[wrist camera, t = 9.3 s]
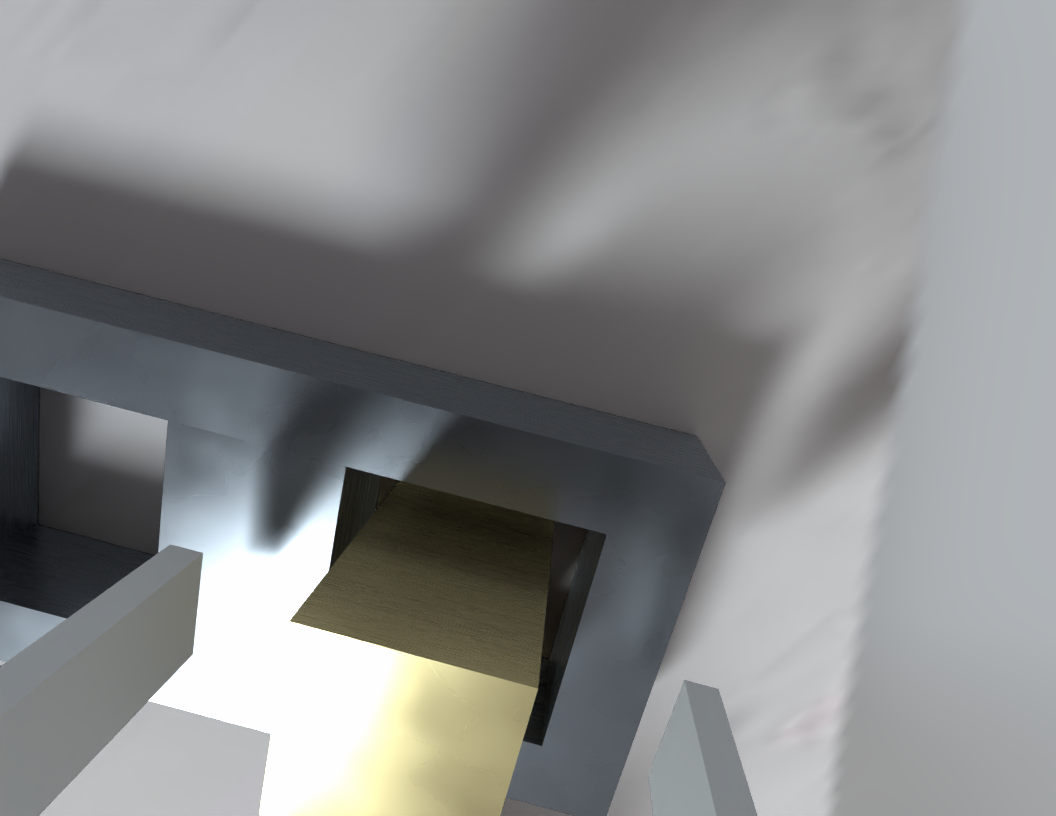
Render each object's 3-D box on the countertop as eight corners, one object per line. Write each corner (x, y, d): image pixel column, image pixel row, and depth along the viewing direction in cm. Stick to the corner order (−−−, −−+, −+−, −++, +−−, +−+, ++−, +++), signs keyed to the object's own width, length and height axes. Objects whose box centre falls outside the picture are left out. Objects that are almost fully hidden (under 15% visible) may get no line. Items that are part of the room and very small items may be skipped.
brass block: (387, 589, 19) (259, 814, 12) (412, 463, 18) (289, 621, 10) (522, 625, 19) (481, 876, 12) (556, 501, 18) (537, 688, 10)
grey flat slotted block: (-26, 559, 20) (-146, 621, 17) (-33, 250, 18) (-178, 250, 14) (599, 726, 20) (603, 823, 17) (697, 436, 17) (725, 482, 14)
